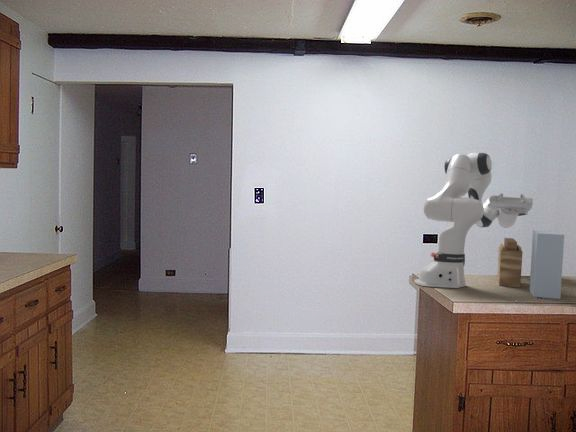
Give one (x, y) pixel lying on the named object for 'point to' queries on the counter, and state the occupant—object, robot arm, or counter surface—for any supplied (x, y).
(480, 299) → the counter surface
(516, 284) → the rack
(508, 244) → the walnut bar
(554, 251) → the stand
